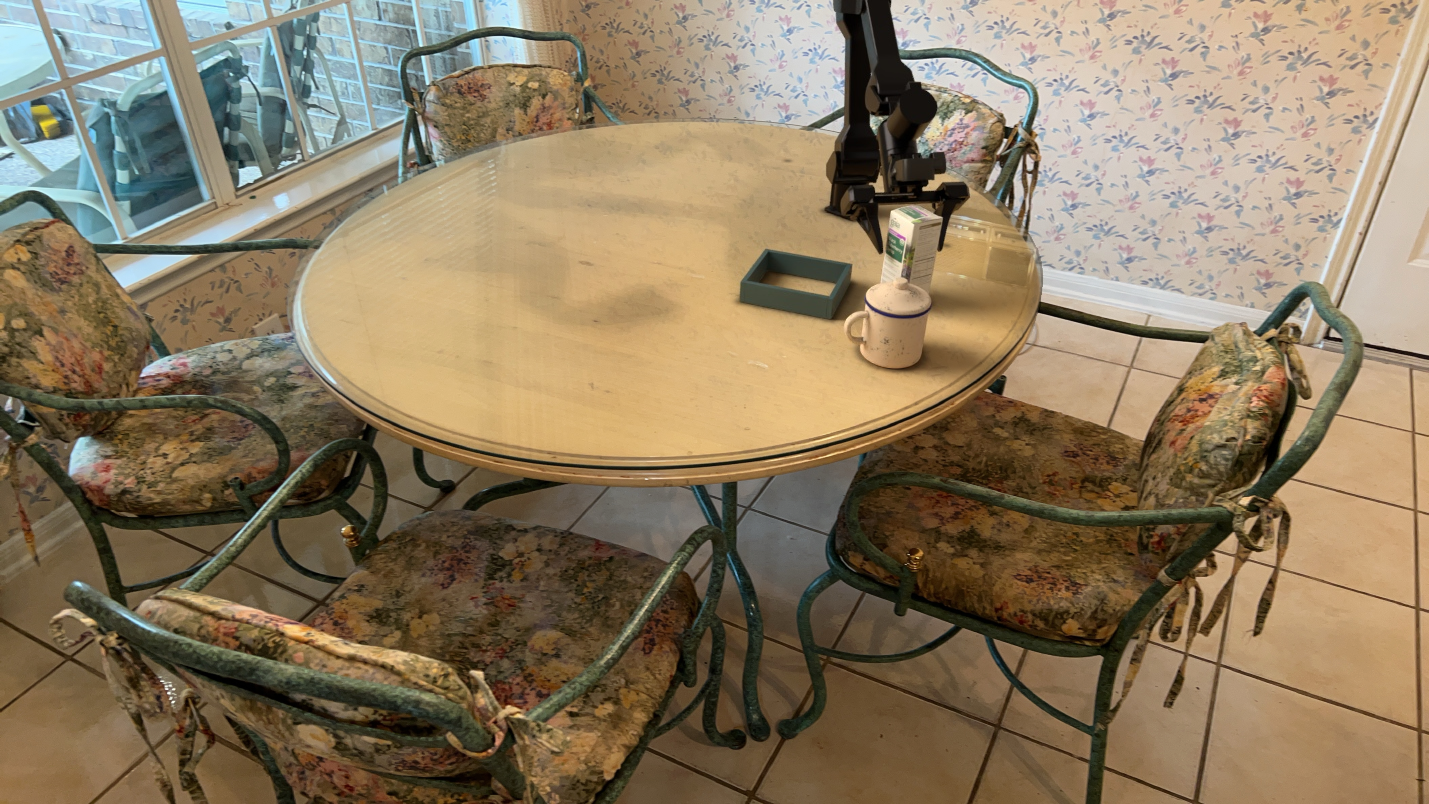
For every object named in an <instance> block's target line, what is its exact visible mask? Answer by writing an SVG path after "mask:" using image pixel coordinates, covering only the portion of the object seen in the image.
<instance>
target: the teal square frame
mask: <svg viewBox="0 0 1429 804" xmlns="http://www.w3.org/2000/svg"><path fill="white" fill-rule="evenodd" d="M769 271H770V272H775V273H781V274H786V275H791V276H797V277H801V278H807V279H812V280H816V281H817V280H818V281H823V282H828V283H834V284H835V285H834V287H833V289H832V291H831V293H830V294H829V295H826V294H821V293H815V292H811V291H810V292H809V291H805V290H800V289H793V288H788V287H783V286H777V285H774V284H773V285H772V284H767V283H763V282H762V283H761V280H762V279H763V278H764V276H765V275H766V273H767V272H769ZM852 272H853V263H849V262H843V261H838V260H832V259H827V258H821V257H815V256H810V255H803V254H799V253H793V252H787V251H781V250H775V249H771V248H765V249H763V251H762V253H761V254H760V255H759V256H758V257H757V259H756V260H755V262H754V263H753V264H752V265H751V267H750V268H749V270H748V271H747V272H746V274H745V275H744V276H743V278H741V280H740V282H739V283H740V284H739V303H743V304H748V305H754V306H758V307H759V306H760V307H765V308H770V309H775V310H780V311H785V312H789V313H790V312H791V313H795V314H800V315H806V316H811V317H816V318H819V319H820V318H821V319H827V320H832V319H833V317H834V315H835V313H836V311H837V309H838V307H839V305H840V303H841V302H842V300H843V298H844V297H845V294H846V292H847V291H848V288H849V287H850V285H851V282H852V275H853V274H852Z"/></svg>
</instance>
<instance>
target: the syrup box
mask: <svg viewBox="0 0 1429 804" xmlns="http://www.w3.org/2000/svg"><path fill="white" fill-rule="evenodd" d="M942 220H943V217H940V216H937V215H935V214H934V213H933V212H932V211H930V210H929V209H926V208H925V207H923V206H921V204H912V205H906V206H901V207H899V208H895V209H893V210H891V211H890V215H889V221H888V227H887V235H886V240H885V241H886V242H885V250H884V255H883V262H882V269H881V276H880V282H879V283H883V282H893V281H894V279H896V278H899V277H902V278H905V279H907V280H908V283H909V284H912V285H915V286H918V287H920V288H921V289H923V290H924V291H926V292H927V293H928V295H929V296H930V291H931V286H932V280H933V275H934V269H935V264H936V258H937V253H938V251H937V248H938V242H939V237H940V231H941V226H942Z"/></svg>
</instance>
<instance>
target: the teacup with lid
mask: <svg viewBox="0 0 1429 804" xmlns="http://www.w3.org/2000/svg"><path fill="white" fill-rule="evenodd" d="M864 302H865V307H864V310H859V311H855V312H853V313H851V314H850V315H849V316H848V317H847V318H846V320H845V322H844V324H843V331H844V336H845V337H846V339H847V340H848V341H849V342H851V343H852V344H854V345H859V351H860V353H861V355H862V357H863V358H864V359H865V360H867V361H868V362H870V363H871V364H873V365H876V366H879V367H882V368H888V369H903V368H908V367H912V366H913V365H915V364H916V363H918V362H919V361H920V359H921V357H922V352H923V346H924V342H925V336H926V330H927V325H928V318H929V313H930V310H931V309H932V306H933V303H932V298H931V296H930V294H929V295H928V293H927V292H926V291H924V290H923V289H921V288H920V287H918V286H915V285H912V284H909V283H908V280H907V279H905V278H902V277H899V278H896V279H894V281H893V282H883V283H880V282H879V283H876V284H874V285H872V286H871V287H870V288H869V289H868V290H867V291H866V293H865V295H864ZM861 319H863V320H862V321H863V322H862V329H861V336H853V335H852V331H851V330H852V326H853V324H854V323H855V322H856V321H859V320H861Z"/></svg>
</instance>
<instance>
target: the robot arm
mask: <svg viewBox="0 0 1429 804" xmlns="http://www.w3.org/2000/svg"><path fill="white" fill-rule="evenodd" d="M891 7H892V0H832V8H833V11H834V13H835V23H836V26H837V27H838V30H839V31H840V33H841V35H842V37H844V86H843V87H844V88H843V90H844V92H843V93H844V94H843V95H844V97H843V127H842V128H841V130H840V132H839V134H838V135H837V137H836V139H835V140H834V147H833V151H832V153H831V154H830V157H828V160H827V162H826V163H825V177H826V178H827V180H828V181H829V183H830V184H831V185H830V196H829V197H830V198H829V204H828V205H827V206H824V208H823V209H824V210H823V211H824V212H827V213H830V214H833V215H835V216H839V217H840V218H844V219H847V220H850V221H852V222H853V221H856V223H857V224H858V225H859V226H860V228H861V229H862V231H864V233H865V234H866V236H867V237H868V238H869V240H870V242H871V243H872V245H873V247H874V249H875V250H876V252H877V253H878V255H883V254H884V241H883V236H882V229H881V225H880V219H879V206H902V205H927V204H928V205H929V204H930V205H931V207H932V209H933V210H934V211H933V212H932V213H934V214H935V215H937V216H940V217H943V220H942V226H941V231H940V237H939V242H938V248H937V253H941V252H942V251H943V249H944V245H945V239H946V236H947V230H948V226H949V222H950V220H951V217H952V215H953V214H954V213H955V212H957V211H959V210H960V209H961V208H962V207H963V206H964V204H965V203H967V202H968V200H970V199H971V193H970V187H969V186H968V184H967V183H966V182H965V181H942V182H941V183H940V184H939V186H938V187H937V188H936V189H935V190H924V189H923V188H926V187H928V185H929V184H930V183H929V181H935V176H936V175H944V174H946V172H947V158H946V152H945V151H933V152H930V153H929V154H928V157H923V155H922V152H919V149H918V142H917V139H919V138H920V137H922V136H923V134H924V133H925V131H926V130H927V128H928V127H929V125H930V124H931V123H932V121H933V120H934V119H935V117H936V115H937V112H938V101H937V100H936V99H935V97H934V95H932V93H930V92H929V91H928V90H927V89H924V88H923V87H922V81H916V80H915V77H914V74H913V71H912V69H911V68H910V67H909V66H908V65H906V63H904V61H902V58H901V54H900V49H899V45H898V41H897V39H898V38H897V34H896V30H895V25H894V20H893V19H894V18H893V14H892V8H891ZM871 116H873V117H875V118H876V117H877V118H878V117H880V118H881V117H886V118H885V119H884V120H882V121H881V123H879V125H878V127H877V129H876V133H875V132H874V129H873V128H872V127H871ZM879 176H880V177H882V185H883V192H879V191H877V192H876V187H875V186H874V185H873V184H877V181H878V179H879Z"/></svg>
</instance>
